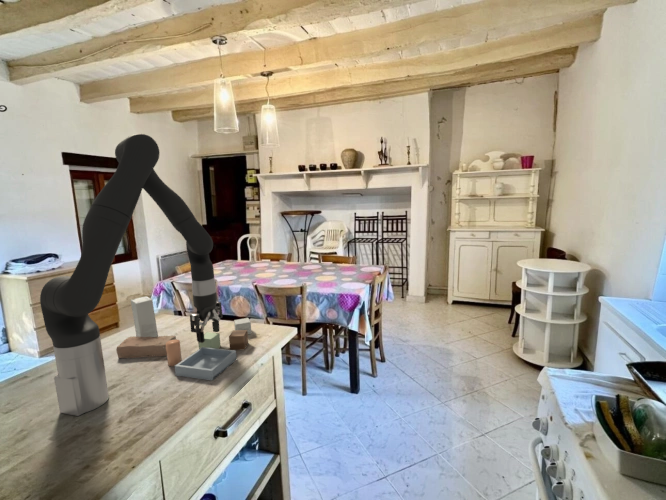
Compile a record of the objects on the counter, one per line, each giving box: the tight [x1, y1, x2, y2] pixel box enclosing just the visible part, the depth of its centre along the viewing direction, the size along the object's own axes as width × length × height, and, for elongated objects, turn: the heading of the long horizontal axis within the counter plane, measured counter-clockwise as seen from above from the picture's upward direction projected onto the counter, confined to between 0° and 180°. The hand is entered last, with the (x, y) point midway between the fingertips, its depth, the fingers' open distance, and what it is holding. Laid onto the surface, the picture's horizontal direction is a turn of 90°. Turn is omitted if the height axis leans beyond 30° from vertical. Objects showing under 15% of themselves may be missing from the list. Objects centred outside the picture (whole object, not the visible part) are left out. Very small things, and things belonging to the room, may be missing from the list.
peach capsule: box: [166, 338, 183, 367], centre depth 103 cm, size 4×4×7 cm
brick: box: [116, 335, 177, 359], centre depth 112 cm, size 17×8×5 cm, turn 95°
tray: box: [174, 347, 237, 381], centre depth 100 cm, size 13×13×3 cm
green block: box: [197, 331, 221, 350], centre depth 113 cm, size 5×5×5 cm
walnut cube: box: [228, 329, 249, 351], centre depth 114 cm, size 5×5×5 cm
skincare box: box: [130, 295, 159, 337], centre depth 124 cm, size 8×6×15 cm
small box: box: [233, 317, 252, 335], centre depth 126 cm, size 6×6×5 cm
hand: (209, 336), depth 113 cm, fingers open, 8 cm apart
